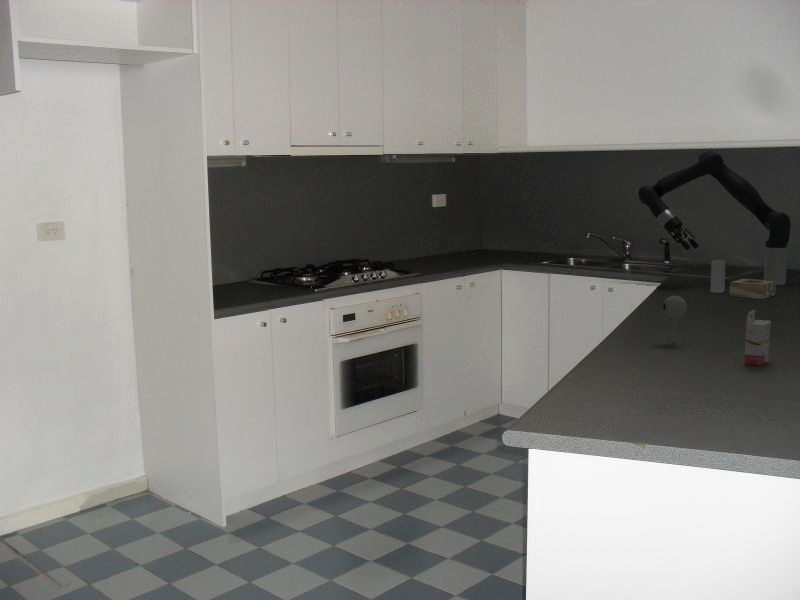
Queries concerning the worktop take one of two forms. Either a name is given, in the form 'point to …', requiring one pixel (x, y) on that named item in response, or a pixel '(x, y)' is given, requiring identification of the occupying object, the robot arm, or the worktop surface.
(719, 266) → the grey square pillar
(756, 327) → the ink cartridge box
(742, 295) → the well block
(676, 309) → the lollipop
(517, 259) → the worktop surface
